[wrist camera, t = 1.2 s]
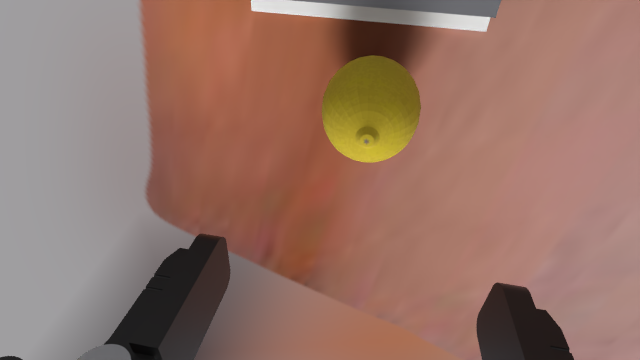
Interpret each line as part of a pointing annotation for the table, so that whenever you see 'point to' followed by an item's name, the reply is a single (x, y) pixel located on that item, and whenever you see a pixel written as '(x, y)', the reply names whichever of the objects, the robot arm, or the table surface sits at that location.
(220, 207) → the table surface
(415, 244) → the table surface
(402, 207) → the table surface
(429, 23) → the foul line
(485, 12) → the gray open tray
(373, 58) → the lemon
